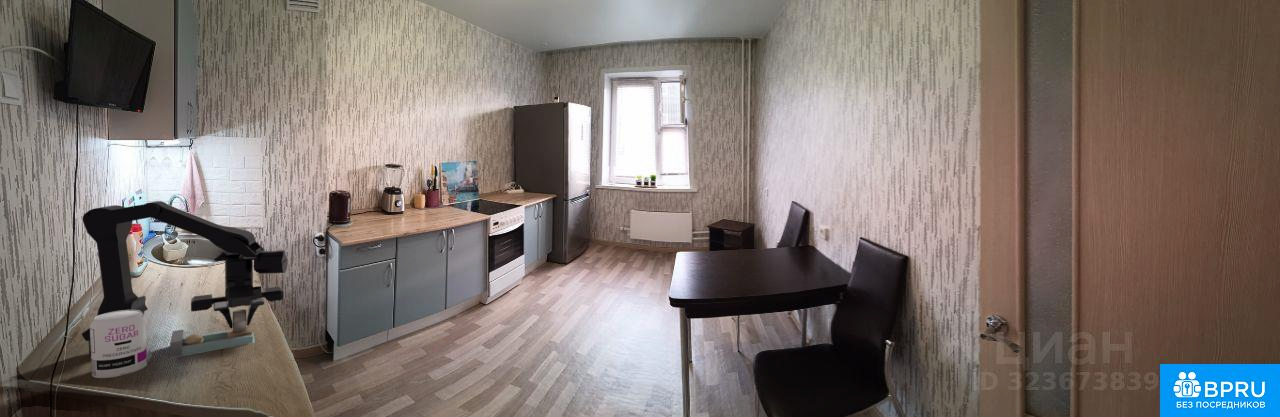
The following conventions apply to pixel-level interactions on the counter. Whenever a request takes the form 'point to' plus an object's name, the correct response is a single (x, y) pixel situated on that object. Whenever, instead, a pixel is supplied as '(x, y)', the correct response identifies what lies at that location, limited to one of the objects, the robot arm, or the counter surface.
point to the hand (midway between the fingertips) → (239, 326)
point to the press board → (216, 343)
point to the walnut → (193, 339)
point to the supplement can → (118, 343)
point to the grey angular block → (177, 343)
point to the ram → (239, 325)
